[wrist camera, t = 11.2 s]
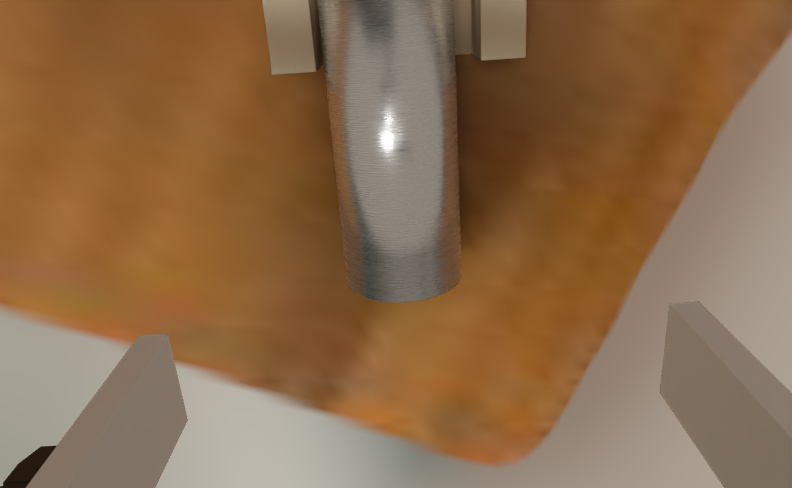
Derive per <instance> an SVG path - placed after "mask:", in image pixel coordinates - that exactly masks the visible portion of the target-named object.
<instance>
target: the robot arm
mask: <svg viewBox="0 0 792 488" xmlns="http://www.w3.org/2000/svg"><path fill="white" fill-rule="evenodd" d="M660 394H661V395H662V397H663V398H664V400H665V401H666V403H667V404H668V405H669V407H670V409H671V410H672V412H673V413H674V414H675V416H676V417H677V419H678V420H679V422H680V423H681V425H682V426H683V428H684V429H685V431H686V432H687V434H688V435H689V436H690V438H691V440H692V441H693V442H694V444H695V445H696V447H697V448H698V450H699V451H700V453H701V454H702V456H703V457H704V459H705V460H706V461H707V463H708V465H709V466H710V467H711V469H712V470H713V472H714V473H715V475H716V476H717V478H718V479H719V481H720V482H721V484H722V485H723V487H724V488H792V393H791V392H790V391H789V390H788V389H787V388H786V387H785V386H784V385H783V384H782V383H781V382H780V381H779V380H778V379H777V378H776V377H775V376H774V375H773V374H772V373H771V372H770V371H769V370H768V369H767V368H766V367H765V366H764V365H763V364H762V363H761V362H760V361H759V360H757V358H756V357H755V356H754V355H752V353H751V352H750V351H749V350H748V349H747V348H746V347H744V345H742V344H741V343H740V342H739V341H738V340H737V339H736V338H735V337H734V336H733V335H732V334H731V333H730V332H729V331H728V330H727V329H726V328H725V327H724V326H723V325H722V324H721V323H720V322H719V321H718V320H717V319H716V318H715V317H714V316H713V315H712V314H711V313H710V312H709V311H708V310H707V309H706V308H705V307H704V306H703V305H702V304H701V303H700V302H684V303H670V304H669V311H668V321H667V329H666V339H665V349H664V357H663V366H662V375H661V384H660ZM186 422H187V415H186V411H185V406H184V402H183V398H182V394H181V389H180V384H179V380H178V376H177V371H176V367H175V363H174V358H173V354H172V350H171V345H170V341H169V336H168V334H157V335H140V336H138V338H137V339H136V340H135V342H134V343H133V344H132V346H131V347H130V348H129V350H128V351H127V352H126V354H125V355H124V356H123V358H122V359H121V361H120V362H119V363H118V365H117V366H116V367H115V369H114V370H113V371H112V373H111V374H110V375H109V377H108V378H107V379H106V381H105V382H104V383H103V385H102V386H101V387H100V389H99V390H98V391H97V393H96V394H95V395H94V397H93V398H92V400H91V401H90V402H89V403H88V405H87V406H86V407H85V409H84V410H83V411H82V413H81V414H80V416H79V417H78V418H77V420H76V421H75V422H74V424H73V425H72V426H71V428H70V429H69V430H68V432H67V433H66V434H65V436H64V437H63V438H62V440H61V441H60V442H59V444H58V445H57V446H45V447H40V448H39V449H37V450H36V451H35V452H33V453H32V454H31V455H29V456H28V457H27V458H25V459H24V460H23V461H21V462H20V463H19V464H18V465H17V466H16V468H15V469H14V470H13V471H12V472H11V474H10V475H9V476H8V478H7V479H6V480H5V481H4V482H3V486H1V487H0V488H155V487H156V485H157V483H158V481H159V478H160V476H161V474H162V472H163V470H164V468H165V466H166V464H167V462H168V459H169V458H170V456H171V453H172V452H173V449H174V447H175V445H176V443H177V441H178V439H179V437H180V435H181V433H182V431H183V429H184V427H185V424H186Z"/></svg>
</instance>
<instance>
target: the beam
mask: <svg viewBox="0 0 792 488" xmlns="http://www.w3.org/2000/svg"><path fill="white" fill-rule="evenodd" d="M262 3H263V11H264V18H265V25H266V33H267V40H268V48H269V55H270V62H271V70H272V75H275V74H290V73H305V72H316V71H317V70H318V69H319V68H320V67H321V66H322V65H323V64H324V59H323V50H322V40H321V30H320V21H319V11H318V2H317V0H262ZM454 22H455V55H462V54H473V55H474V56H476V57H477V58H479V59H480V60H496V59H511V58H526V0H454Z"/></svg>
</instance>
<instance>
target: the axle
mask: <svg viewBox="0 0 792 488" xmlns="http://www.w3.org/2000/svg"><path fill="white" fill-rule="evenodd" d="M317 2H318V11H319V21H320V30H321V40H322V50H323V59H324V69H325V78H326V88H327V97H328V107H329V116H330V126H331V135H332V145H333V154H334V164H335V173H336V183H337V192H338V202H339V211H340V221H341V230H342V240H343V249H344V259H345V268H346V278H347V284H348V286H349V288H350V289H351V290H352V291H353V292H355V293H356V294H358V295H360V296H362V297H365V298H368V299H372V300H377V301H384V302H411V301H418V300H424V299H428V298H432V297H435V296H438V295H441V294H443V293H445V292H447V291H449V290H450V289H452V288H453V287H455V286H456V285H457V284H458V282H459V281H460V279H461V276H462V273H461V237H460V201H459V165H458V130H457V94H456V58H455V22H454V0H317Z"/></svg>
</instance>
